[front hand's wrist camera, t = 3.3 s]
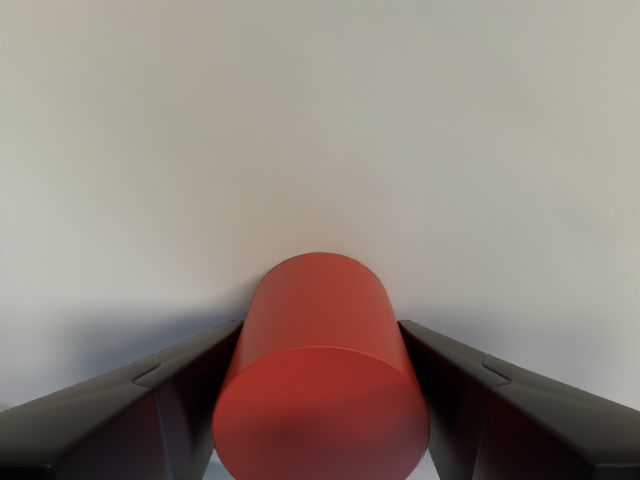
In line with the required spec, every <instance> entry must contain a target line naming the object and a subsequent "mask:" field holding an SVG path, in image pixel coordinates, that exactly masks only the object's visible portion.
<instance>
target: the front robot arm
mask: <svg viewBox="0 0 640 480" xmlns="http://www.w3.org/2000/svg"><path fill="white" fill-rule="evenodd" d="M244 322H245V321H243V320H232V321H230V322H227V323H225V324H223V325H221V326H218V327H216V328H214V329H211V330H209V331H207V332H205V333H202V334H200V335H198V336H195V337H193V338H191V339H188V340H186V341H184V342H182V343H179V344H177V345H175V346H172V347H170V348H168V349H166V350H163V351H161V352H159V353H157V354H153V355H151V356H148V357H146V358H144V359H141V360H139V361H137V362H134V363H132V364H129V365H127V366H124V367H122V368H119V369H116V370H114V371H111V372H108V373H106V374H103V375H100V376H98V377H95V378H92V379H90V380H87V381H84V382H81V383H79V384H76V385H73V386H71V387H68V388H65V389H63V390H60V391H57V392H54V393H52V394H49V395H46V396H44V397H41V398H38V399H36V400H33V401H30V402H28V403H25V404H22V405H19V406H17V407H14V408H11V409H9V410H6V411H3V412H1V413H0V480H202V478H203V476H204V473H205V471H206V468H207V465H208V463H209V460H210V458H211V455H212V452H213V450H214V447H215V446H214V442H213V437H212V416H213V411H214V408H215V405H216V402H217V399H218V396H219V393H220V390H221V387H222V385H223V382H224V379H225V376H226V373H227V370H228V367H229V365H230V362H231V359H232V356H233V353H234V350H235V348H236V345H237V342H238V339H239V336H240V333H241V331H242V328H243V325H244ZM397 323H398V326H399V329H400V332H401V334H402V337H403V340H404V343H405V346H406V348H407V351H408V354H409V357H410V359H411V362H412V365H413V368H414V371H415V373H416V376H417V379H418V382H419V385H420V387H421V390H422V393H423V396H424V398H425V401H426V404H427V408H428V411H429V416H430V424H431V425H430V438H429V442H428V446H427V447H428V449H429V452H430V455H431V457H432V460H433V462H434V465H435V467H436V470H437V473H438V475H439V478H440V480H640V411H638V410H635V409H632V408H629V407H627V406H624V405H621V404H619V403H616V402H613V401H610V400H608V399H605V398H602V397H599V396H597V395H594V394H591V393H589V392H586V391H583V390H580V389H578V388H575V387H572V386H570V385H567V384H564V383H561V382H559V381H556V380H553V379H551V378H548V377H545V376H542V375H540V374H537V373H534V372H532V371H529V370H526V369H524V368H521V367H518V366H516V365H513V364H511V363H508V362H506V361H503V360H501V359H499V358H496V357H494V356H492V355H489V354H487V355H486V353H484V352H481V351H479V350H477V349H474V348H472V347H470V346H467V345H465V344H463V343H460V342H458V341H456V340H454V339H451V338H449V337H447V336H444V335H442V334H440V333H437V332H435V331H433V330H430V329H428V328H426V327H424V326H421V325H419V324H417V323H414V322H412V321H410V320H398V321H397Z"/></svg>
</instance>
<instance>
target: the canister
mask: <svg viewBox="0 0 640 480" xmlns="http://www.w3.org/2000/svg"><path fill="white" fill-rule="evenodd" d="M430 425H431V424H430V416H429V411H428V408H427V404H426V401H425V398H424V396H423V393H422V390H421V387H420V385H419V382H418V379H417V376H416V373H415V371H414V368H413V365H412V362H411V359H410V357H409V354H408V351H407V348H406V346H405V343H404V340H403V337H402V334H401V332H400V329H399V326H398V323H397V320H396V318H395V315H394V312H393V309H392V307H391V304H390V301H389V298H388V295H387V293H386V291H385V289H384V287H383V285H382V283H381V282H380V281H379V279H378V278H377V277H376V276H375V275H374V274H373V272H371V271H370V270H369V269H368V268H367V267H365V266H364V265H362V264H361V263H359V262H357V261H355V260H353V259H351V258H348V257H345V256H342V255H338V254H333V253H309V254H303V255H299V256H296V257H293V258H291V259H289V260H286V261H284V262H282V263H281V264H279V265H278V266H276V267H275V268H274V269H272V270H271V271H270V272H269V273H268V274H267V275H266V276H265V277H264V278H263V280H262V281H261V283H260V284H259V286H258V287H257V290H256V292H255V294H254V297H253V299H252V302H251V305H250V308H249V311H248V314H247V316H246V319H245V322H244V325H243V328H242V331H241V333H240V336H239V339H238V342H237V345H236V348H235V350H234V353H233V356H232V359H231V362H230V365H229V367H228V370H227V373H226V376H225V379H224V382H223V385H222V387H221V390H220V393H219V396H218V399H217V402H216V405H215V408H214V411H213V416H212V437H213V442H214V446H215V449H216V452H217V454H218V457H219V458H220V460H221V462H222V463H223V465H224V467H225V468H226V469H227V470H228V472H229V473H230V474H231V475H232V476H233V477H234V478H235V479H236V480H406V479H407V478H408V477H409V476H410V475H411V474H412V473H413V472H414V470H415V469H416V468H417V467H418V465H419V463H420V462H421V460H422V458H423V456H424V454H425V452H426V449H427V446H428V442H429V438H430Z"/></svg>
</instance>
